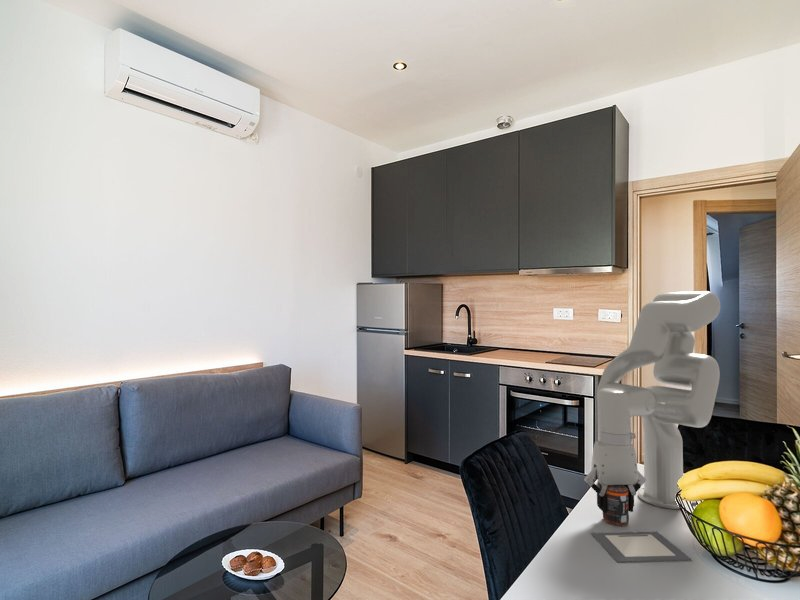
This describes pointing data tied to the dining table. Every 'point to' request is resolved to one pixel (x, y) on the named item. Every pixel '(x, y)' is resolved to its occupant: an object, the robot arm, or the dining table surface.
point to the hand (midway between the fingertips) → (615, 509)
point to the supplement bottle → (617, 505)
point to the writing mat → (640, 547)
